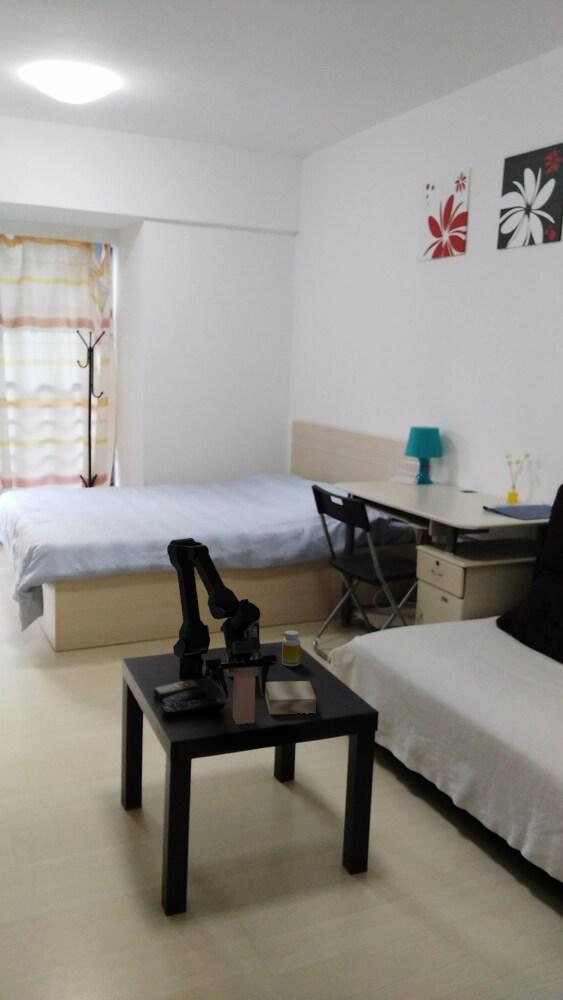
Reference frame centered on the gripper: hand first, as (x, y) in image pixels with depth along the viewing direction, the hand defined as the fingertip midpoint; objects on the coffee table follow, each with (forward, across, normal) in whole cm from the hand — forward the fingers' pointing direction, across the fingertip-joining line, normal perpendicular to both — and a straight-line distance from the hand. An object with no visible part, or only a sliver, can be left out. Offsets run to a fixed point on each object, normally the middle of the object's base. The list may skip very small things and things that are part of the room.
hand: (245, 696), depth 217 cm
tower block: (+4, 0, +6) cm, 7 cm away
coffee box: (-18, +8, +28) cm, 34 cm away
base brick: (-1, +14, +10) cm, 18 cm away
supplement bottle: (-21, +24, +31) cm, 44 cm away
